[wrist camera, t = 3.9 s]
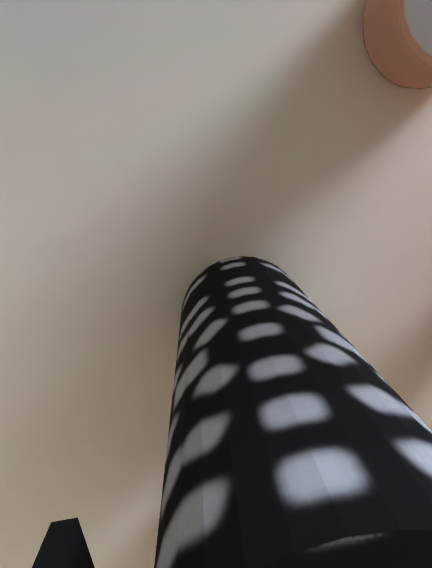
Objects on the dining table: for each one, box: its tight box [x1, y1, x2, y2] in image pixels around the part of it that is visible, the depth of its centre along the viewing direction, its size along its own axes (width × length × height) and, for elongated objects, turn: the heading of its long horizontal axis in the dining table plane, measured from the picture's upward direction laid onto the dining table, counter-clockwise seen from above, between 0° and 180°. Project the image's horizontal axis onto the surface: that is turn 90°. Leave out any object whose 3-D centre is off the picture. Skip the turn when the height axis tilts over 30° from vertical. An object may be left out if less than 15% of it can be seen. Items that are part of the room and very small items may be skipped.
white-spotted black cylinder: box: [154, 257, 432, 568], centre depth 16 cm, size 8×8×20 cm
